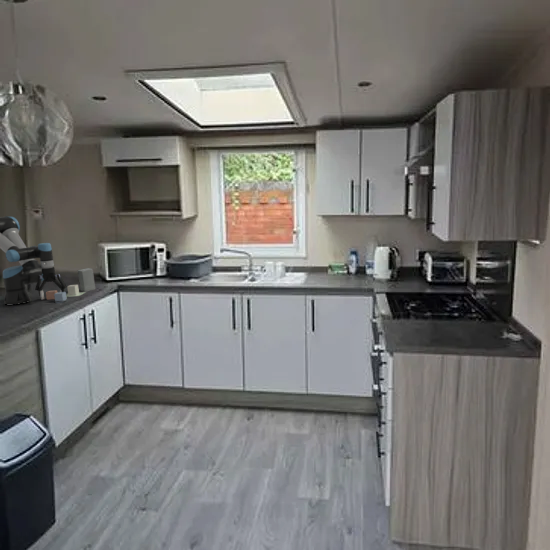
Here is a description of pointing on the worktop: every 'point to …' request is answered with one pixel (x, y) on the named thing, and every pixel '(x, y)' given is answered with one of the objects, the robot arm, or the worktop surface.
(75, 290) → the brick
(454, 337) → the worktop surface
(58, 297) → the brick
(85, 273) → the skincare box
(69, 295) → the baseplate
